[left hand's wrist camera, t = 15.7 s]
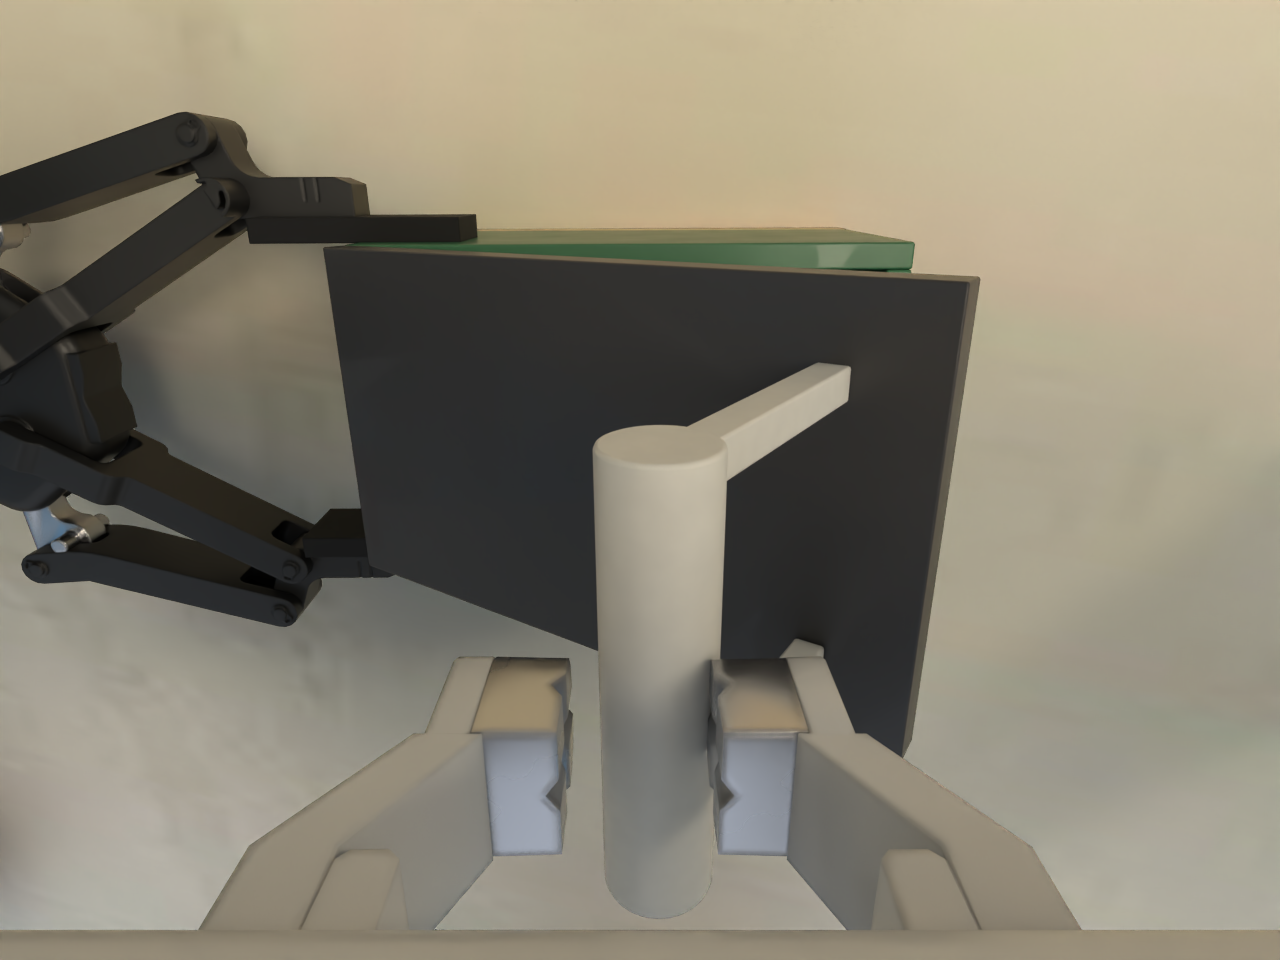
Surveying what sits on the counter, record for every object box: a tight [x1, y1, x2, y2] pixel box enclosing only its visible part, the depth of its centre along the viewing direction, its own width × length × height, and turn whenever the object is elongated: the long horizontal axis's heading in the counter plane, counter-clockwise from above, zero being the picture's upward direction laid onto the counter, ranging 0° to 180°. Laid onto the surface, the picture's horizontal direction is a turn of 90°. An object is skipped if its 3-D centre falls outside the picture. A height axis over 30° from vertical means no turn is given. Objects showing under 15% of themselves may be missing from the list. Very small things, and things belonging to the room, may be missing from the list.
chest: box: [345, 228, 915, 273], centre depth 29 cm, size 17×10×9 cm, turn 90°
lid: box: [323, 245, 980, 919], centre depth 17 cm, size 17×10×8 cm
